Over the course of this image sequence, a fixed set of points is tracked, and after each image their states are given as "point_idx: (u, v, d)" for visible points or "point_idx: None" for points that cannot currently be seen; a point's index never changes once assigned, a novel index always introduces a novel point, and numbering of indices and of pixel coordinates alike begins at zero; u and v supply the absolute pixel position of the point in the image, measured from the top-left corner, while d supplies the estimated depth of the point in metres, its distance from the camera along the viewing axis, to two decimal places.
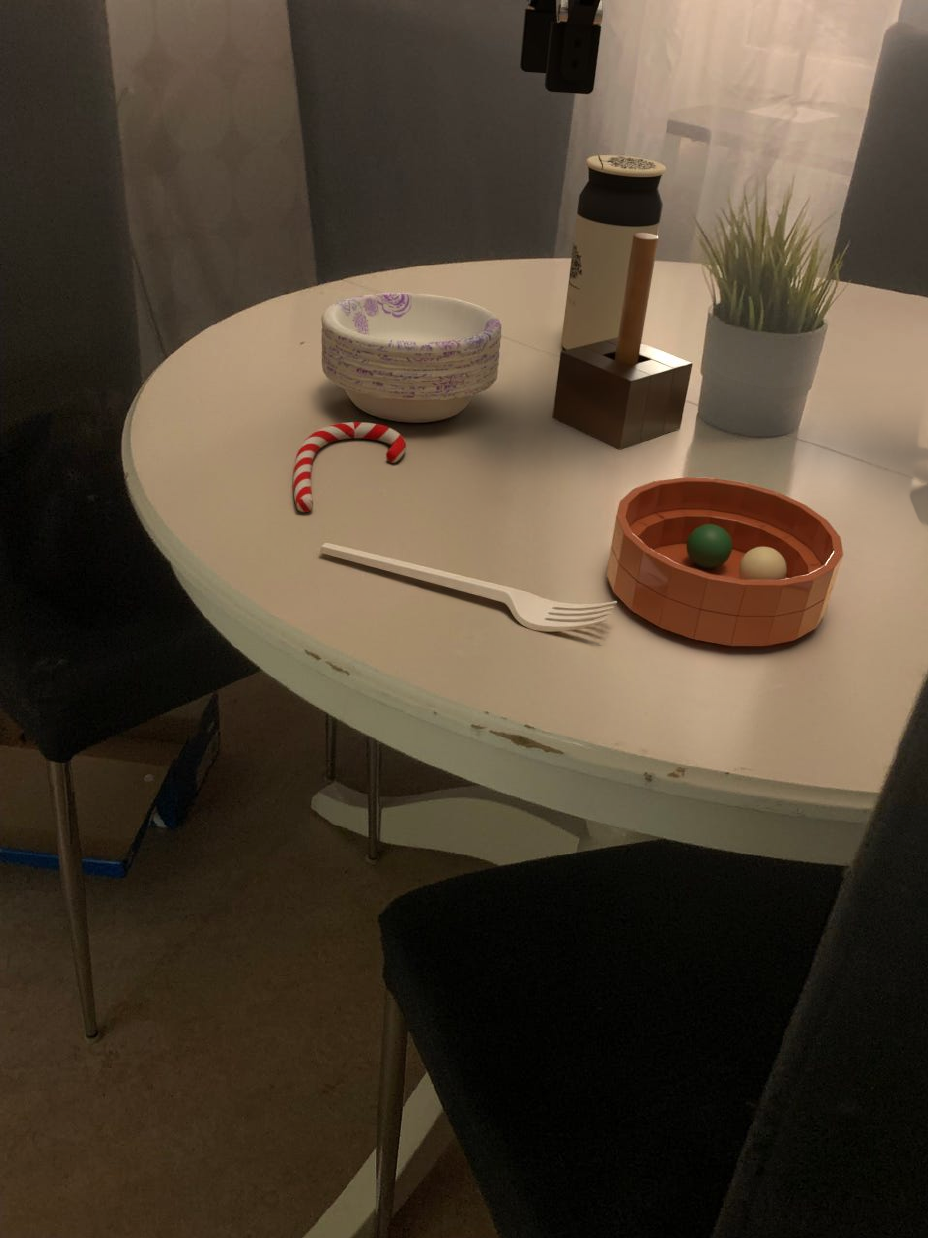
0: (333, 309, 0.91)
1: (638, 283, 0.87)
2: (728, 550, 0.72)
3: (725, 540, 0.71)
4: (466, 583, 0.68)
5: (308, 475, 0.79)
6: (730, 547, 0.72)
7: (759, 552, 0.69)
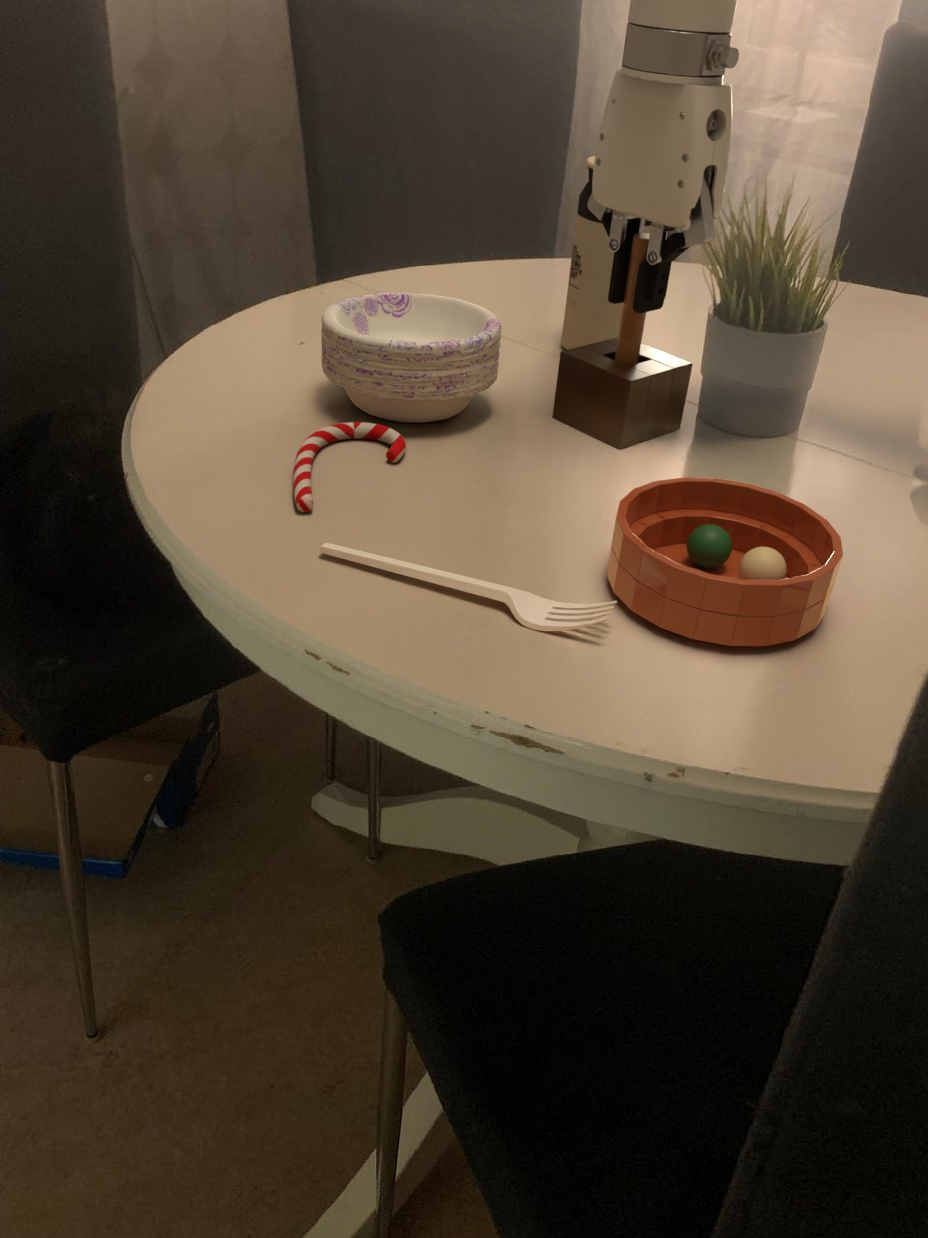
0: (333, 309, 0.91)
1: None
2: (728, 550, 0.72)
3: (725, 540, 0.71)
4: (466, 583, 0.68)
5: (308, 475, 0.79)
6: (730, 547, 0.72)
7: (759, 552, 0.69)
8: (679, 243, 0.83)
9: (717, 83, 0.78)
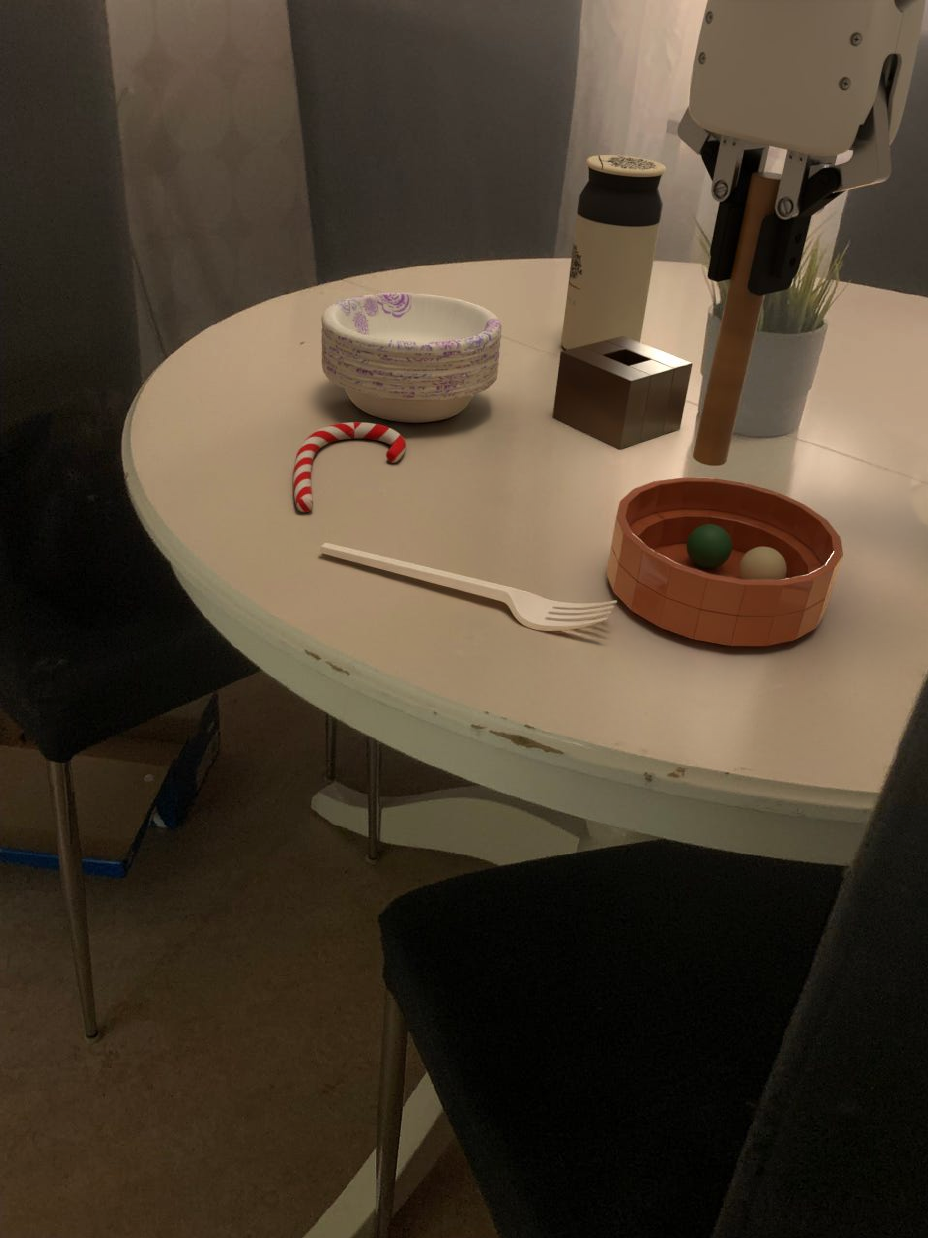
0: (333, 308, 0.91)
1: None
2: (728, 550, 0.72)
3: (725, 540, 0.71)
4: (466, 583, 0.68)
5: (308, 475, 0.79)
6: (730, 547, 0.72)
7: (759, 552, 0.69)
8: (831, 183, 0.53)
9: None
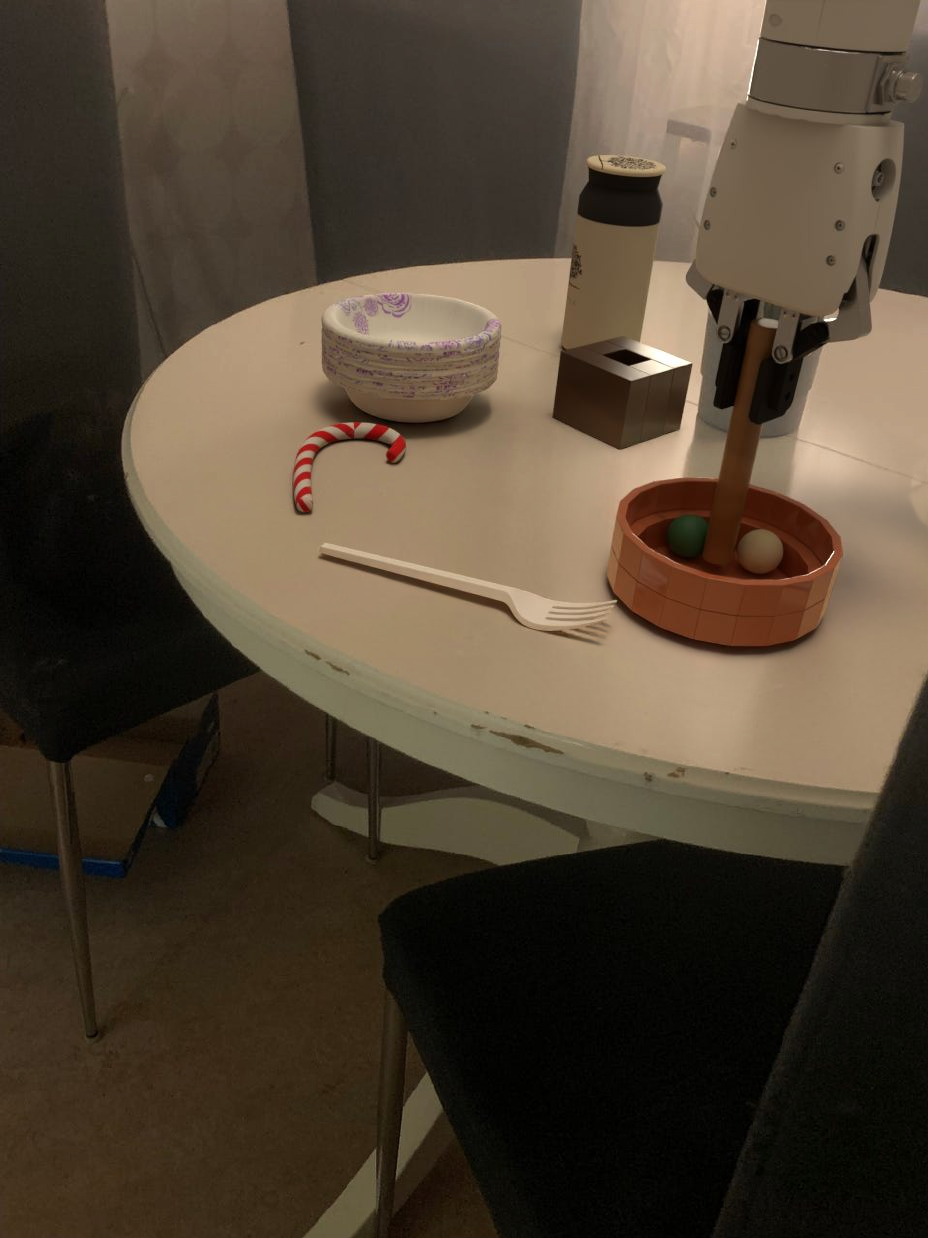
0: (333, 309, 0.91)
1: None
2: (698, 519, 0.73)
3: (689, 514, 0.73)
4: (466, 583, 0.68)
5: (308, 475, 0.79)
6: (699, 517, 0.73)
7: (778, 539, 0.72)
8: (820, 336, 0.61)
9: (886, 122, 0.56)
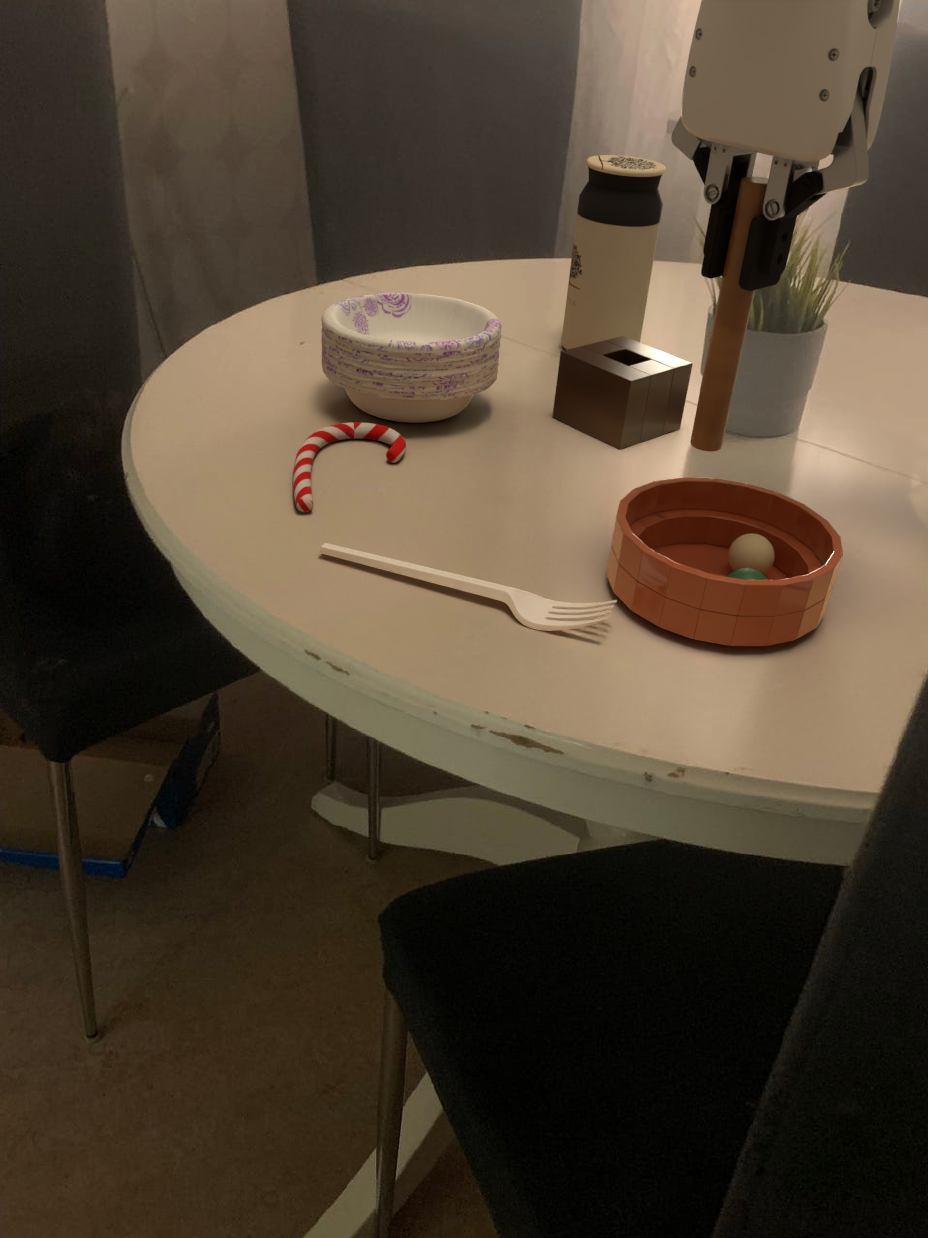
0: (333, 309, 0.91)
1: None
2: None
3: None
4: (466, 583, 0.68)
5: (308, 475, 0.79)
6: None
7: (763, 545, 0.71)
8: (814, 186, 0.57)
9: None
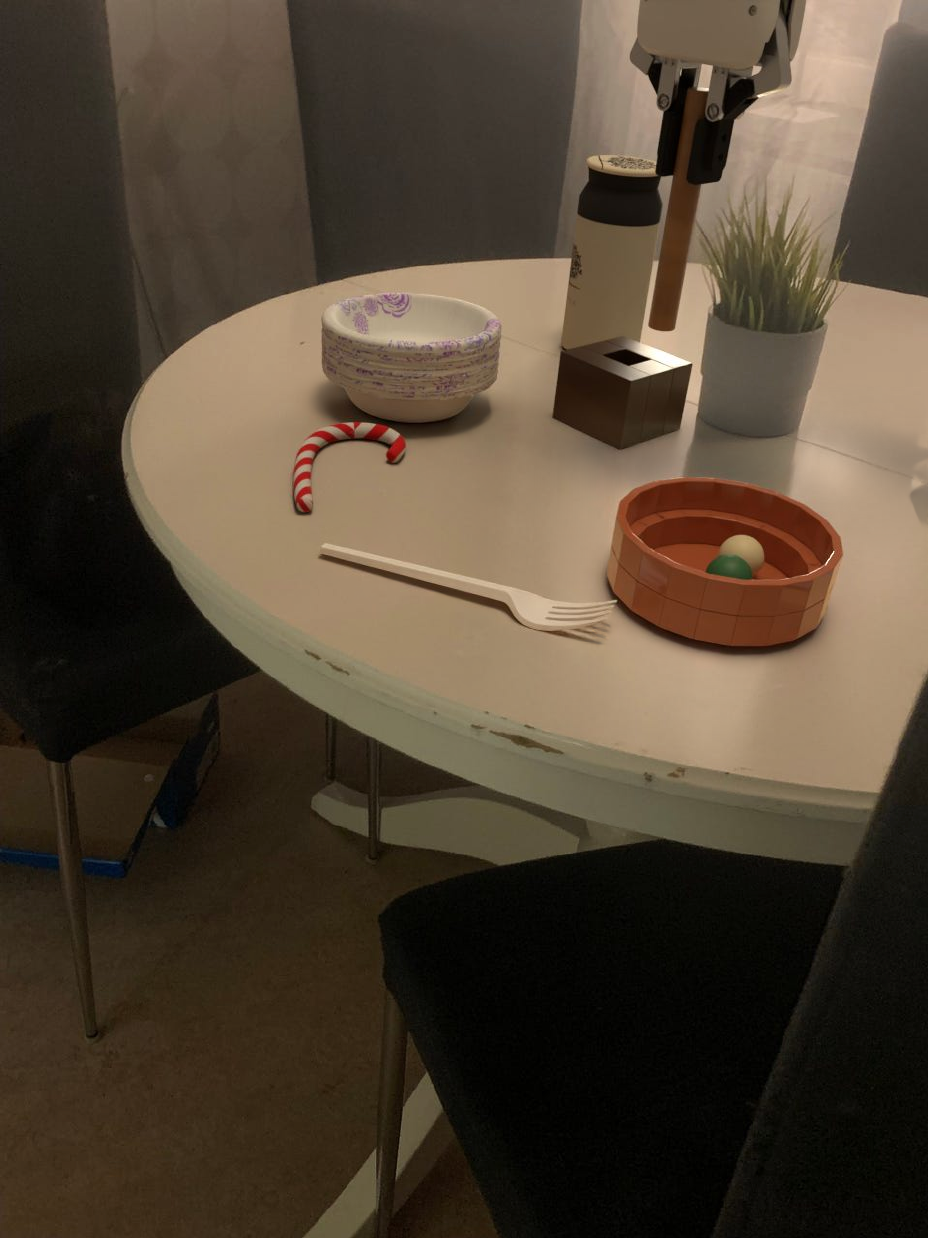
0: (333, 309, 0.91)
1: None
2: None
3: None
4: (466, 583, 0.68)
5: (308, 475, 0.79)
6: None
7: (744, 549, 0.70)
8: (747, 90, 0.68)
9: None
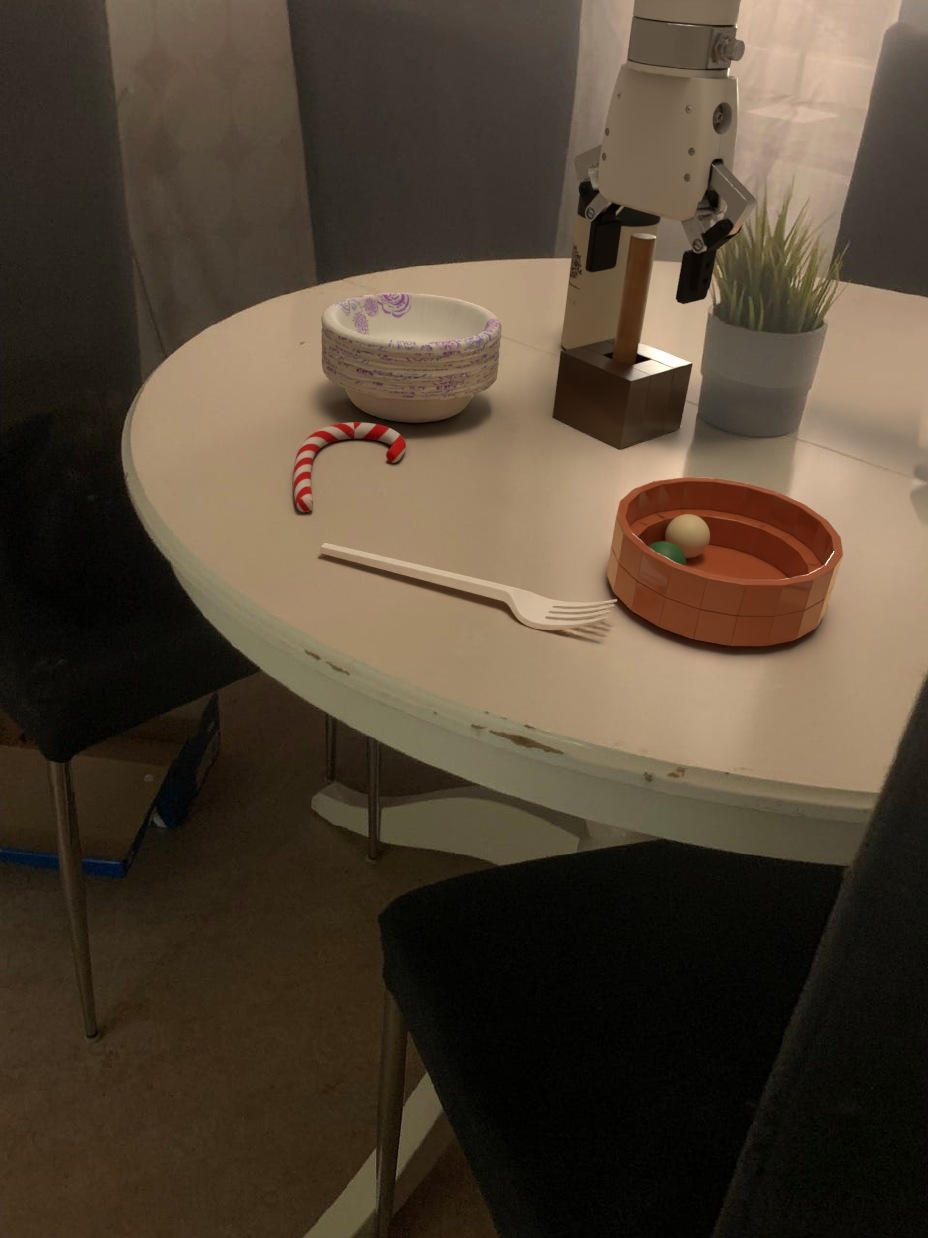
0: (333, 309, 0.91)
1: (634, 283, 0.87)
2: (670, 542, 0.70)
3: (661, 542, 0.70)
4: (466, 582, 0.68)
5: (308, 475, 0.79)
6: (666, 541, 0.70)
7: None
8: (726, 230, 0.80)
9: (723, 76, 0.78)
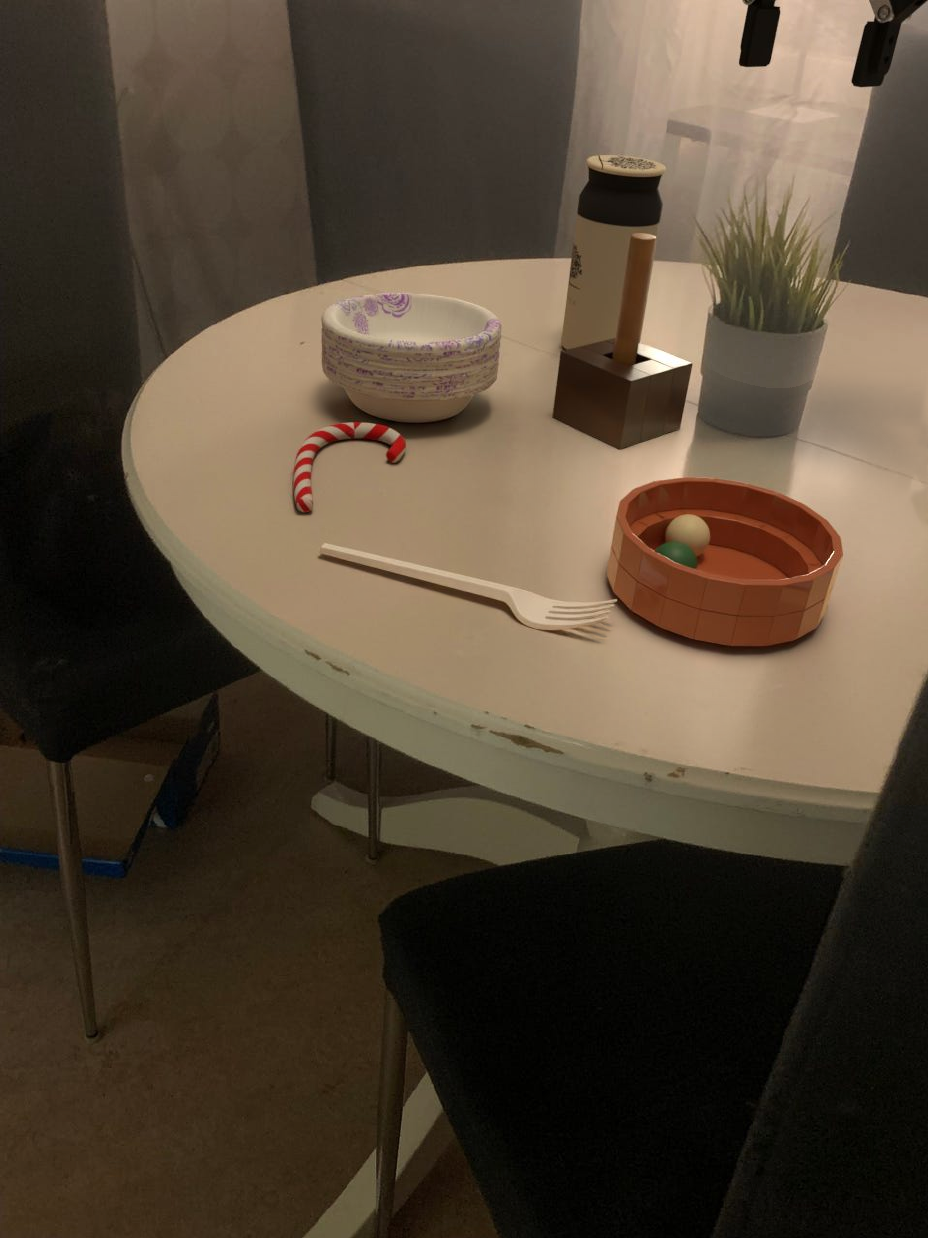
0: (333, 309, 0.91)
1: (634, 283, 0.87)
2: (688, 547, 0.70)
3: (683, 543, 0.70)
4: (466, 582, 0.68)
5: (308, 475, 0.79)
6: None
7: None
8: None
9: None
